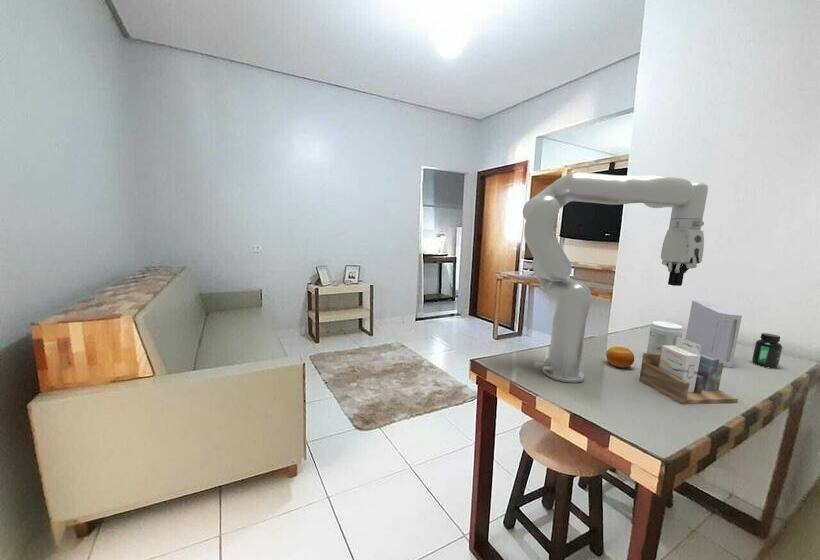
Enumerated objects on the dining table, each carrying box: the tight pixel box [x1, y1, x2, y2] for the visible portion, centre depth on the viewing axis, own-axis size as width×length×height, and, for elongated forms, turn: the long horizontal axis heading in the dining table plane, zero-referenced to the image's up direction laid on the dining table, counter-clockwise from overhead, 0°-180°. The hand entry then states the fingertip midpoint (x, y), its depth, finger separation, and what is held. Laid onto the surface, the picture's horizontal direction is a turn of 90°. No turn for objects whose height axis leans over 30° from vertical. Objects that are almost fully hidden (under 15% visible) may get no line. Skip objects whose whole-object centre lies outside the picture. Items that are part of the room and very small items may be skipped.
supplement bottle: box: [751, 332, 783, 369], centre depth 123 cm, size 7×7×12 cm
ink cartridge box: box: [659, 337, 701, 392], centre depth 99 cm, size 9×5×15 cm, turn 6°
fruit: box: [605, 346, 635, 368], centre depth 118 cm, size 8×8×8 cm
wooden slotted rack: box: [639, 352, 739, 405], centre depth 100 cm, size 18×15×11 cm
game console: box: [685, 300, 743, 368], centre depth 132 cm, size 6×27×20 cm, turn 157°
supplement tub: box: [646, 320, 684, 353], centre depth 122 cm, size 10×10×15 cm
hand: (674, 285), depth 101 cm, fingers closed
